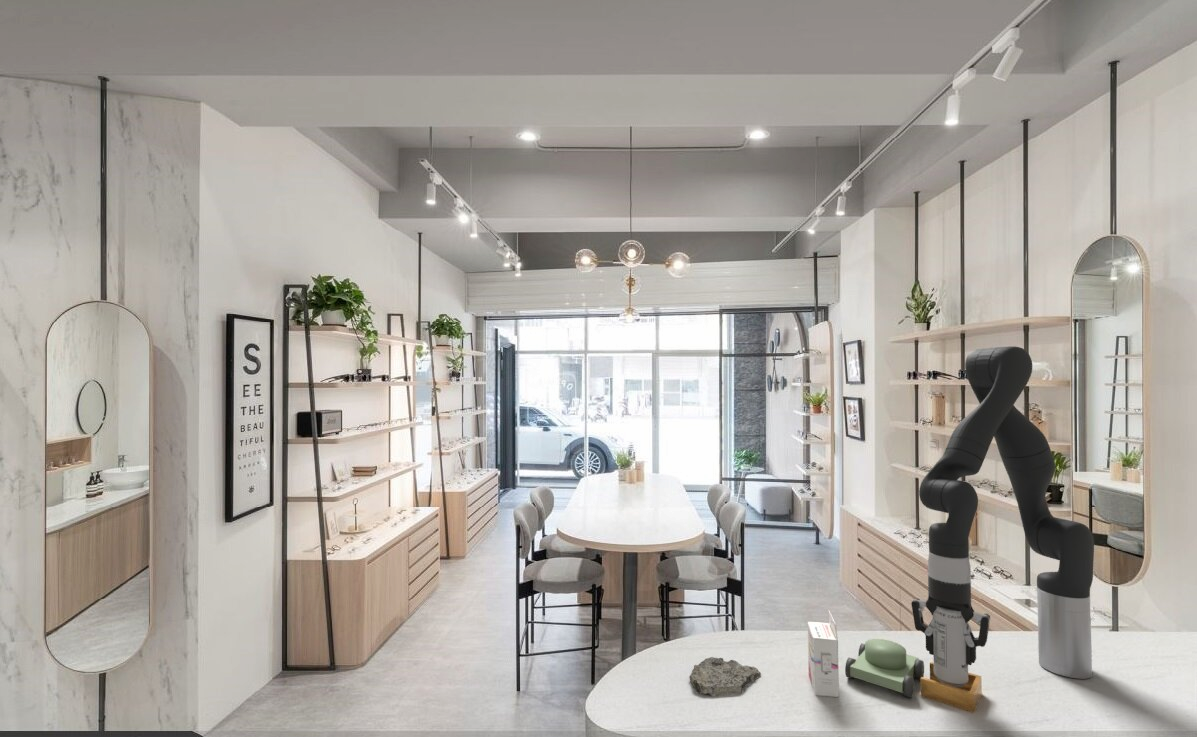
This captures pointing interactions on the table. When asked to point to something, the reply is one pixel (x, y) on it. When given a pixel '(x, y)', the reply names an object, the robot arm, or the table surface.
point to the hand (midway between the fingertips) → (950, 658)
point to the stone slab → (721, 676)
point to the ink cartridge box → (823, 657)
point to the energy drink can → (949, 647)
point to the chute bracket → (953, 691)
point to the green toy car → (886, 666)
